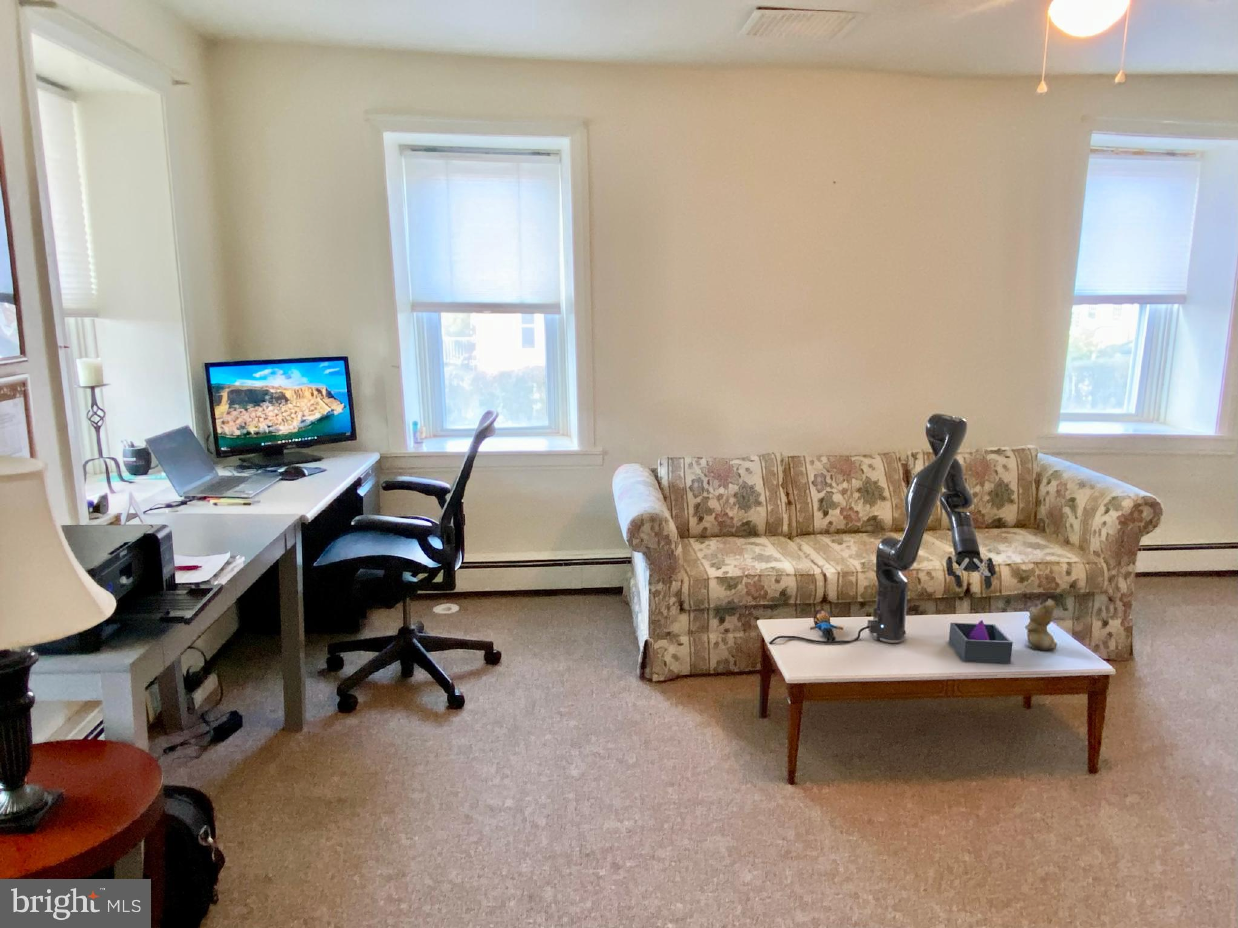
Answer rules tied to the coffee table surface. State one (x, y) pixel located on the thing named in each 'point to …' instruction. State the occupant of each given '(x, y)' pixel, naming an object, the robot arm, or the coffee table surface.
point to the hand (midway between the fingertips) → (974, 588)
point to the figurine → (1041, 627)
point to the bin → (980, 644)
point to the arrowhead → (979, 632)
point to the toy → (824, 624)
